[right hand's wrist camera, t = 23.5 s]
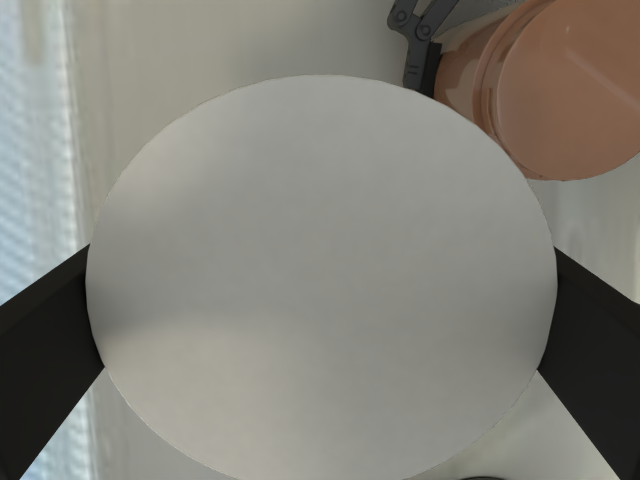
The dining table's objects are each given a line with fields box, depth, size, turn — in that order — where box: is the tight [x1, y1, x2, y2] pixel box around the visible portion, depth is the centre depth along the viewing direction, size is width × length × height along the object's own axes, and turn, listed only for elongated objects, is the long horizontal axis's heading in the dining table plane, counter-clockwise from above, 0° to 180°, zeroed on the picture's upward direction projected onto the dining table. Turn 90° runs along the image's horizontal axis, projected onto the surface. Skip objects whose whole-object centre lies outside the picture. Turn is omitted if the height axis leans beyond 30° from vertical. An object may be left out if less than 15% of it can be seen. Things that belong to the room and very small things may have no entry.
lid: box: [85, 75, 558, 480], centre depth 11 cm, size 11×11×2 cm
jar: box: [412, 0, 640, 181], centre depth 29 cm, size 10×10×18 cm
